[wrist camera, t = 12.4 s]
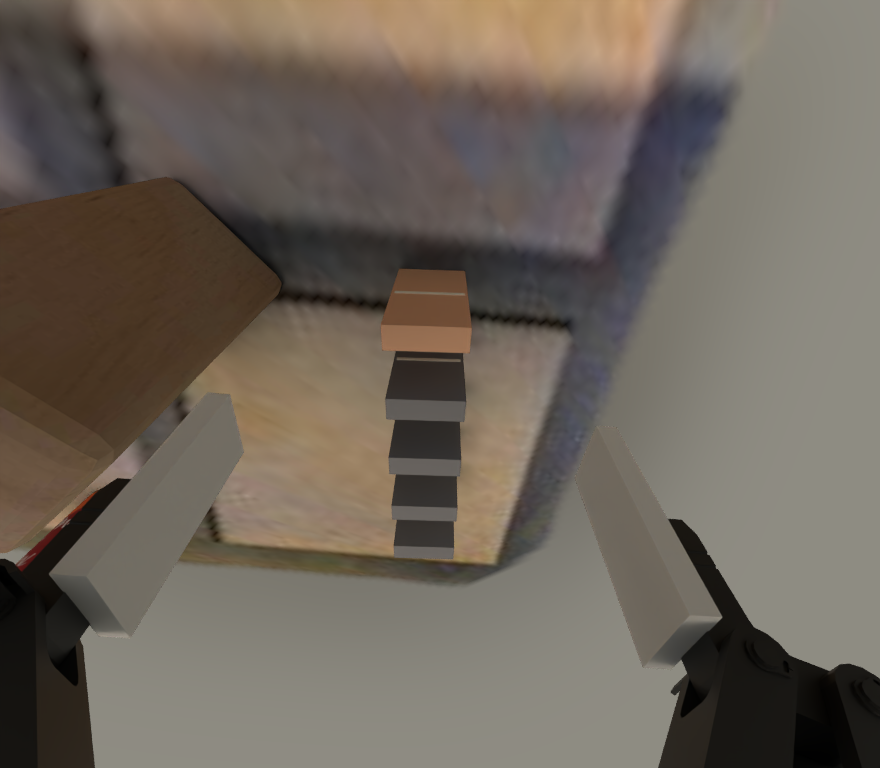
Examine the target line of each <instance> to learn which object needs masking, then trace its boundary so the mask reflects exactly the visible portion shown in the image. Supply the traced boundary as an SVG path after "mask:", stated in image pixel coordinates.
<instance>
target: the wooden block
mask: <svg viewBox="0 0 880 768" xmlns="http://www.w3.org/2000/svg"><path fill="white" fill-rule="evenodd" d="M280 288H281V281H280V279H279V278H278V276H277V275H276V274H275V273H274V272H273V271H272V270H271V269H270V268H269V267H268V266H267V265H266V264H265V263H264V262H263V261H262V260H261V259H260V258H258V257H257V256H256V255H255V254H254V253H253V252H252V251H251V250H250V249H249V248H248V247H247V246H246V245H245V244H244V243H243V242H242V241H241V240H240V239H238V238H237V237H236V236H235V235H234V234H233V233H232V232H231V231H230V230H229V229H228V228H227V227H226V226H225V225H224V224H223V223H222V222H221V221H220V220H219V219H217V218H216V217H215V216H214V215H213V214H212V213H211V212H210V211H209V210H208V209H207V208H206V207H205V206H204V205H203V204H202V203H201V202H200V201H199V200H198V199H196V198H195V197H194V196H193V195H192V194H191V193H190V192H189V191H188V190H187V189H186V188H185V187H184V186H183V185H182V184H180V183H178V182H176V181H175V180H173V179H171V178H168V177H164V178H159V179H153V180H148V181H143V182H138V183H133V184H128V185H122V186H117V187H112V188H107V189H102V190H96V191H91V192H86V193H81V194H76V195H70V196H65V197H60V198H55V199H50V200H44V201H39V202H34V203H29V204H24V205H19V206H13V207H8V208H3V209H0V553H7V552H9V551H12V550H13V549H15V548H17V547H19V546H21V545H23V544H25V543H27V542H29V541H30V540H31V539H32V538H33V537H34V536H35V535H37V534H38V533H39V532H40V531H41V530H42V529H43V528H44V527H45V526H46V525H47V524H48V523H49V522H50V521H51V520H52V519H54V518H55V517H56V516H57V515H58V514H59V513H60V512H61V511H62V510H63V509H64V508H65V507H66V506H67V505H68V504H69V503H71V502H72V501H73V500H74V499H75V498H76V497H77V496H78V495H79V494H80V493H81V492H82V491H83V490H84V489H85V488H86V487H87V486H89V485H90V484H91V483H92V482H93V481H94V480H95V479H96V478H97V477H98V476H99V475H100V474H101V473H102V472H103V471H104V470H106V469H107V468H108V467H109V466H110V465H111V464H112V463H113V462H114V461H115V460H116V459H117V458H118V457H119V456H120V455H121V454H122V453H123V452H124V451H125V450H126V449H127V448H128V447H129V446H130V445H131V444H132V443H133V442H134V441H135V440H136V439H137V438H138V437H139V436H140V434H141V433H142V432H143V431H144V430H145V429H146V428H147V427H148V426H149V425H150V424H151V423H152V422H153V421H154V420H155V419H156V418H157V417H158V416H159V415H160V414H161V413H162V412H163V411H164V410H165V409H166V408H167V407H168V406H169V405H170V404H171V403H172V402H173V401H174V400H175V399H176V398H177V397H178V396H179V395H180V394H181V393H182V392H183V391H184V390H185V389H186V388H187V387H188V386H189V385H190V384H191V383H192V382H193V381H194V380H195V379H196V378H197V376H198V375H199V374H200V373H201V372H202V371H203V370H204V369H205V368H206V367H207V366H208V365H209V364H210V363H211V362H212V361H213V360H214V359H215V358H216V357H217V356H218V355H219V354H220V353H221V352H222V351H223V350H224V349H225V348H226V347H227V346H228V345H229V344H230V343H231V342H232V341H233V340H234V339H235V338H236V337H237V336H238V335H239V334H240V333H241V332H242V331H243V330H244V329H245V328H246V327H247V326H248V325H249V324H250V323H251V322H252V321H253V320H254V318H255V317H256V316H257V315H258V314H259V313H260V312H261V311H262V310H263V309H264V308H265V307H266V306H267V305H268V304H269V303H270V302H271V301H272V300H273V299H274V298H275V297H276V296H277V295H278V294H279V291H280Z"/></svg>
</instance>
